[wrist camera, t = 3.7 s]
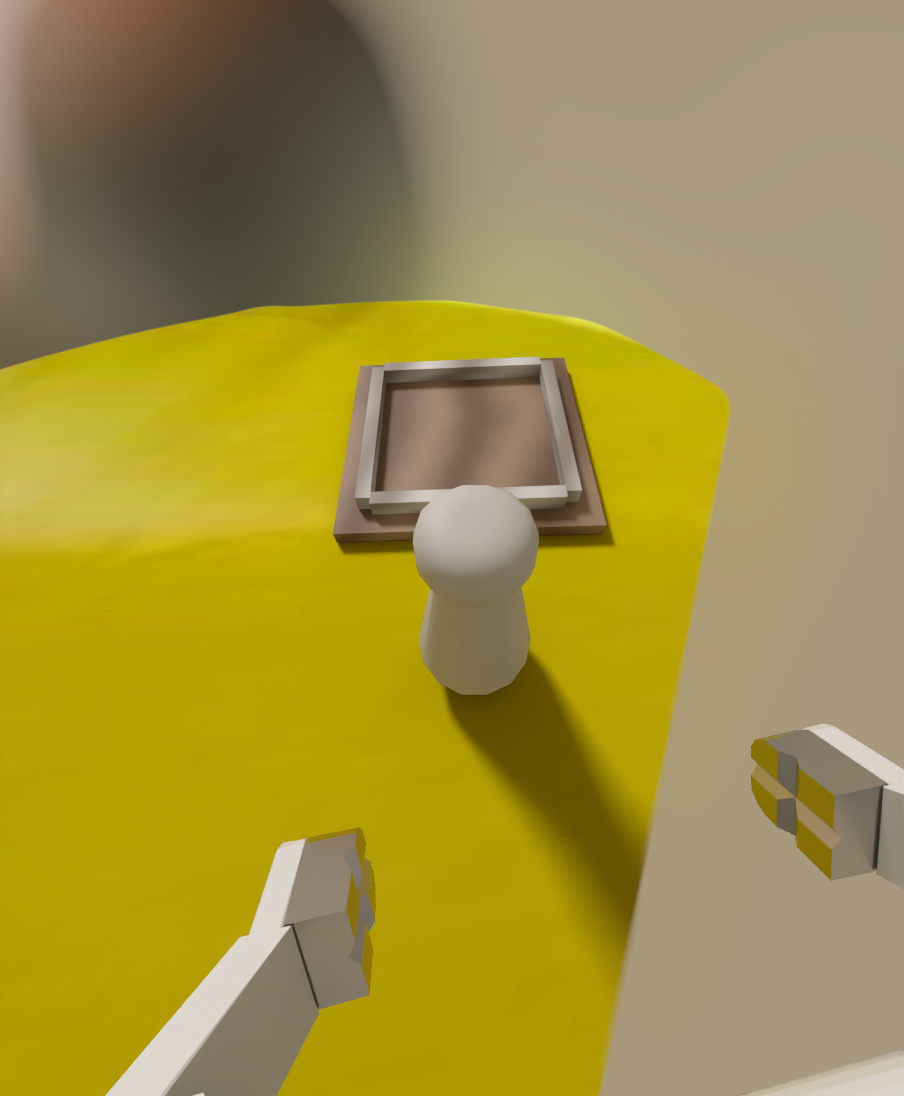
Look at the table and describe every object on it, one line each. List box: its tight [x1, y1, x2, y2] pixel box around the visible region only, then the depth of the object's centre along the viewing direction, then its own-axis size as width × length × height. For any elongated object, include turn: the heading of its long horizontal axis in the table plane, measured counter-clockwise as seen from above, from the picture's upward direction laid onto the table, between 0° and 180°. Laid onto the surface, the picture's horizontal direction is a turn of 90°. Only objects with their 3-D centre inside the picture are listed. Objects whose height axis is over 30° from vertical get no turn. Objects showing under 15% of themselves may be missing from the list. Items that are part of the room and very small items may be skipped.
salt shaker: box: [413, 485, 539, 695], centre depth 19 cm, size 6×6×13 cm
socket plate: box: [333, 357, 606, 542], centre depth 33 cm, size 18×18×2 cm
